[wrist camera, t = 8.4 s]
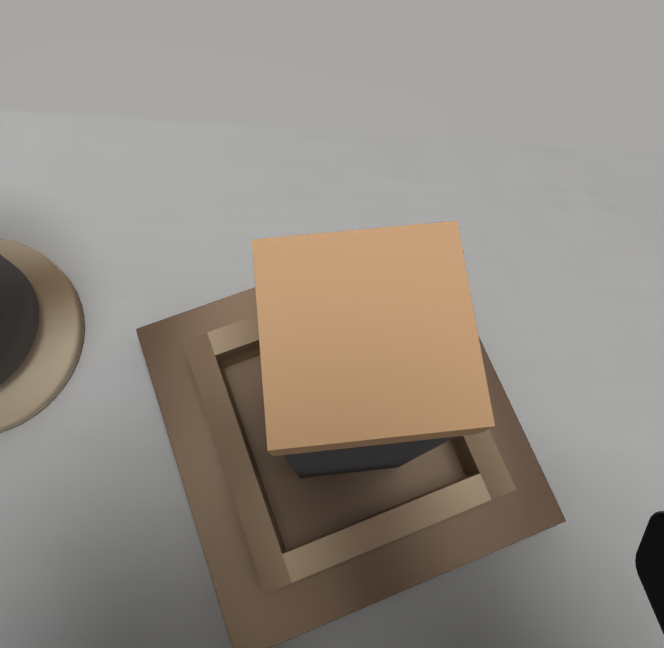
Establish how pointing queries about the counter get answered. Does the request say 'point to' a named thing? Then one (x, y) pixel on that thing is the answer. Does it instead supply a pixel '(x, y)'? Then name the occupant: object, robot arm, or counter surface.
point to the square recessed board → (323, 489)
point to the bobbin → (35, 332)
